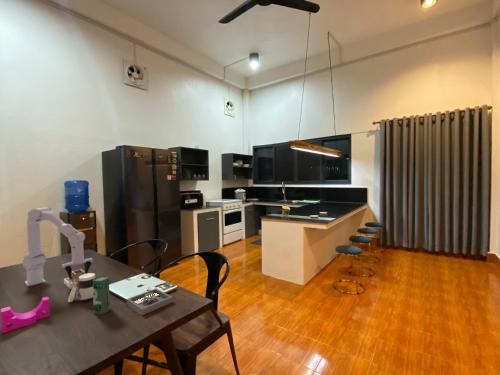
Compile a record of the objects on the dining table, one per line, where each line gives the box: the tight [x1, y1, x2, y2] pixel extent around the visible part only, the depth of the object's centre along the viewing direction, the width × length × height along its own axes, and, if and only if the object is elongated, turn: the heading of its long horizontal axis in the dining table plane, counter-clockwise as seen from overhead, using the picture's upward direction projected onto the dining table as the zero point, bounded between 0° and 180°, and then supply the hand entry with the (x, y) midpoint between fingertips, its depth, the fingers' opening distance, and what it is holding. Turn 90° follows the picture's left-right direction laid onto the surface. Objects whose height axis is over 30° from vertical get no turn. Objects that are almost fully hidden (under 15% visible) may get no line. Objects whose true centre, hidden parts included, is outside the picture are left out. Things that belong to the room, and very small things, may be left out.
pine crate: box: [71, 268, 85, 283], centre depth 145 cm, size 7×5×6 cm
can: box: [92, 275, 111, 316], centre depth 114 cm, size 6×6×15 cm
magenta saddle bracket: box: [0, 296, 51, 334], centre depth 106 cm, size 15×6×8 cm, turn 135°
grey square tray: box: [126, 287, 173, 317], centre depth 120 cm, size 15×15×3 cm
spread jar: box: [67, 272, 96, 303], centre depth 125 cm, size 12×11×12 cm
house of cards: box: [141, 286, 158, 305], centre depth 119 cm, size 9×9×8 cm
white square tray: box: [63, 277, 77, 290], centre depth 145 cm, size 11×11×3 cm
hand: (78, 276), depth 145 cm, fingers open, 7 cm apart
